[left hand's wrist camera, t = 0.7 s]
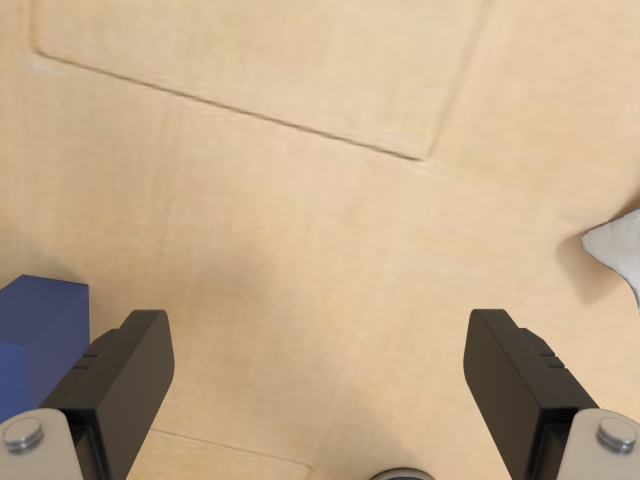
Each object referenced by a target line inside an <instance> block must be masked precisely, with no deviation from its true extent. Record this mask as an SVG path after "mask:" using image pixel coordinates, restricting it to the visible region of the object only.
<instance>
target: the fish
mask: <svg viewBox="0 0 640 480" xmlns="http://www.w3.org/2000/svg"><path fill="white" fill-rule="evenodd" d="M580 240H581V244H582V247H583V249H584V250H585V251H586V252H587V253H588V254H590V255H591V256H592V257H594V258H595V259H597V260H598V261H600V262H601V263H603V264H604V265H606V266H607V267H609V268H610V269H612V270H613V271H615V272H617V273H618V274H620V275H621V276H622V277H623V278H624V279H625V280H626V281H627V283H628V284H629V285H630V287H631V289H632V291H633V293H634V294H635V297H636V301H637V305H638V309H639V314H640V206H639V207H637V208H635V209H633V210H631V211H629V212H628V213H626V214H624V215H622V216H620V217H618V218H617V219H615V220H613V221H611V222H609V223H606V224H604V225H601V226H598V227H596V228H594V229H592V230H590V231H588V232H587V233H586V234H584V235H583V236H582V237H581V238H580Z"/></svg>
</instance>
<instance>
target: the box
mask: <svg viewBox="0 0 640 480" xmlns="http://www.w3.org/2000/svg"><path fill="white" fill-rule="evenodd" d="M88 347H89V297H88V285H84V284H78V283H72V282H65V281H59V280H53V279H46V278H40V277H34V276H27V275H21V276H20V277H18V278H17V279H15V280H14V281H13V282H11V283H10V284H8V285H7V286H5V287H4V288H3V289H1V290H0V424H1V423H3V422H4V421H6V420H8V419H10V418H12V417H14V416H16V415H18V414H21V413H24V412H27V411H30V410H35V409H37V408H38V407H39V406H40V405H41V403H42V402H43V401H44V400H45V399H46V397H47V396H48V395H49V394H50V393H51V391H52V390H53V389H54V388H55V387H56V385H57V384H58V383H59V382H60V381H61V379H62V378H63V377H64V376H65V375H66V373H67V372H68V371H69V370H70V369H72V366H73V365H74V364H75V363H76V361H77V360H78V359H79V358H82V354H83V353H84V352H85V351H86V349H87V348H88Z"/></svg>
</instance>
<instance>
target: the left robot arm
mask: <svg viewBox="0 0 640 480" xmlns="http://www.w3.org/2000/svg"><path fill="white" fill-rule="evenodd" d="M463 366H464V375H465V379H466V382H467V384H468V386H469V389H470V391H471V393H472V395H473V397H474V399H475V401H476V404H477V406H478V408H479V410H480V412H481V414H482V416H483V418H484V421H485V423H486V425H487V427H488V429H489V431H490V433H491V436H492V438H493V440H494V442H495V444H496V446H497V448H498V450H499V453H500V455H501V457H502V459H503V461H504V463H505V465H506V468H507V470H508V472H509V474H510V476H511V478H512V480H640V424H639V423H637V422H636V421H634V420H632V419H630V418H628V417H626V416H624V415H622V414H619V413H616V412H613V411H610V410H605V409H600V408H599V406H598V405H597V404H596V403H595V402H594V400H593V399H592V398H591V397H590V396H589V394H588V393H587V392H586V391H585V390H584V388H583V387H582V386H581V385H580V383H579V382H578V381H577V380H576V379H575V377H574V376H573V375H572V374H571V373H570V371H569V370H568V369H567V368H565V367H564V366H565V365H564V364H563V363H562V362H561V360H560V359H559V358H558V357H555V353H554V352H553V351H552V350H551V348H550V347H549V346H548V345H547V344H546V342H545V341H544V340H543V339H541V338H540V337H538V336H537V335H535V334H534V333H532V332H531V331H529V330H528V329H526V328H518V326H517V325H516V324H515V322H514V321H513V320H512V319H511V317H510V316H509V315H508V313H507V312H506V311H505V310H504V309H473V310H472V312H471V314H470V318H469V325H468V332H467V339H466V345H465V352H464V360H463ZM173 374H174V354H173V348H172V341H171V334H170V328H169V321H168V316H167V313H166V311H165V310H133V311H132V312H131V313H130V315H129V316H128V317H127V319H126V320H125V321H124V322H123V324H122V325H121V326H120V328H119V329H111V330H109V331H108V332H106V333H105V334H103V335H102V336H100V337H99V338H97V339H96V340H94V341H93V342H92V343H91V345H90V346H89V347H88V348H87V349H86V351H85V352H84V353H83V354H82V358H79V359H78V360H77V361H76V363H75V364H74V365H73V366H72V369H70V370H69V371H68V372H67V373H66V375H65V376H64V377H63V378H62V379H61V381H60V382H59V383H58V384H57V385H56V387H55V388H54V389H53V390H52V391H51V393H50V394H49V395H48V396H47V397H46V399H45V400H44V401H43V402H42V403H41V405H40V406H39V407H38V408H37V409H35V410H30V411H27V412H24V413H21V414H18V415H16V416H14V417H12V418H10V419H8V420H6V421H4V422H3V423H1V424H0V480H126V477H127V475H128V473H129V471H130V469H131V467H132V465H133V463H134V461H135V459H136V456H137V454H138V452H139V450H140V448H141V446H142V444H143V442H144V440H145V437H146V435H147V433H148V431H149V429H150V427H151V425H152V423H153V421H154V418H155V416H156V414H157V412H158V410H159V408H160V406H161V404H162V402H163V399H164V397H165V395H166V393H167V391H168V389H169V387H170V385H171V382H172V379H173ZM372 480H434V479H433V478H432V477H430V476H429V475H427V474H425V473H423V472H420V471H417V470H412V469H397V470H391V471H388V472H385V473H382V474H380V475H378V476H376V477H375V478H373V479H372Z"/></svg>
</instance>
